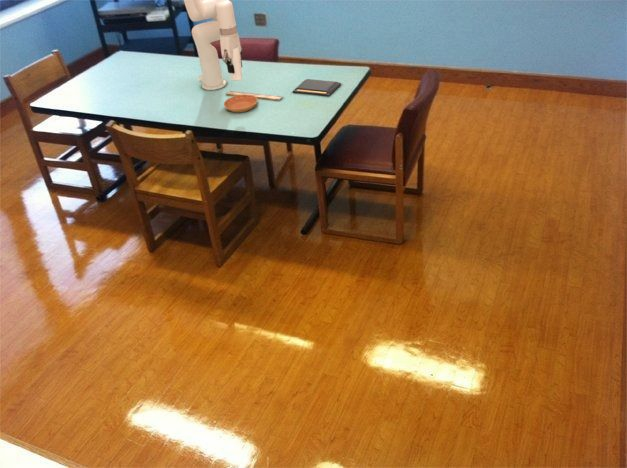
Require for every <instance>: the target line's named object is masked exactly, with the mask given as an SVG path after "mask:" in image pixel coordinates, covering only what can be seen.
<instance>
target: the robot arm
mask: <svg viewBox="0 0 627 468" xmlns="http://www.w3.org/2000/svg"><path fill="white" fill-rule="evenodd" d="M183 3H184V6H185V9H186V11H187V14H188V17H189V19H190V20H191V21H192V22H200V23H198V24H196V25H194V26H193V27H192V29H191V36H192V39H193V42H194V45H195V47H196V50H197V55H198V59H199V65H200V68H201V69H200V70H201V73H202V75H199V76H198V78H197V79H198V81H199V82H202V84H201V87H202V89H204V90H207V91H215V90H220V89H222V88H224V87H225V86H226V85H227V80H226V79H224V78H223V73H222V68H221V64H220V58H219V54H218V50H217V48H216V47H215V46H213V45H212V44H211V43H214V42H217V41H219V45H220V53H221V57H222V61H223V63H224V64H225V65H226V69H227V73H228V74H230V73H235V71H234V65H233V64H232V58H233V49H234V48H237V47H238V46H239V50H240V56H241V59H242V54H243V52H242V51H243V46H242V45H241V44H242V43H241V40H240V36H239V33H238V28H237V22H236V17H235V10H234V5H233V2H232V1H231V0H183ZM209 19H212V20H209ZM205 20H209V21H205ZM201 21H205V22H202V23H201ZM227 55H228V56H229V58H227ZM228 59H230V61H228ZM241 68H243V61H242V60H241Z"/></svg>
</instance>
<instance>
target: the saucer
mask: <svg viewBox="0 0 627 468" xmlns="http://www.w3.org/2000/svg"><path fill="white" fill-rule="evenodd" d="M258 99H259V98H256V97H255V96H253V95H238V96H231V97H229V98H227V99H225V100H224V102H223V106H224V108H225V109H226V110H227V111H229V112H232V113H236V114H237V113H238V114H239V113H246V112H249V111H251V110H252V109H254V108H255V107H256V105H257V104H258Z"/></svg>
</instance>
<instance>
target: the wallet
mask: <svg viewBox="0 0 627 468" xmlns="http://www.w3.org/2000/svg"><path fill="white" fill-rule="evenodd" d="M341 86H342V83H341V82H338V81H334V80H323V79H311V78H306V79H304V80H303V81H301V83H300V84H299V85H298V86H297V87H295V88H294V89H293V90H292V93H293V94H301V95H302V94H303V95H313V96H321V97H330V96H332V94H333V93H334V92H335V91H337V90H338V88H339V87H341Z"/></svg>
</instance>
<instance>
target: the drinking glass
mask: <svg viewBox="0 0 627 468" xmlns="http://www.w3.org/2000/svg"><path fill="white" fill-rule="evenodd" d="M241 56H242V55H241ZM241 56H240V50H239V46H238V47H237V48H234V49H233V58H232V64H233V65H234V71H235V73H229V76H230V79H231V81H237V82H238V81H240V80H242V79H243V69H242V68H243V67H242V68H241V61H242V58H241ZM227 58H229V56H228V55H227ZM228 61H230V59H228Z"/></svg>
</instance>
